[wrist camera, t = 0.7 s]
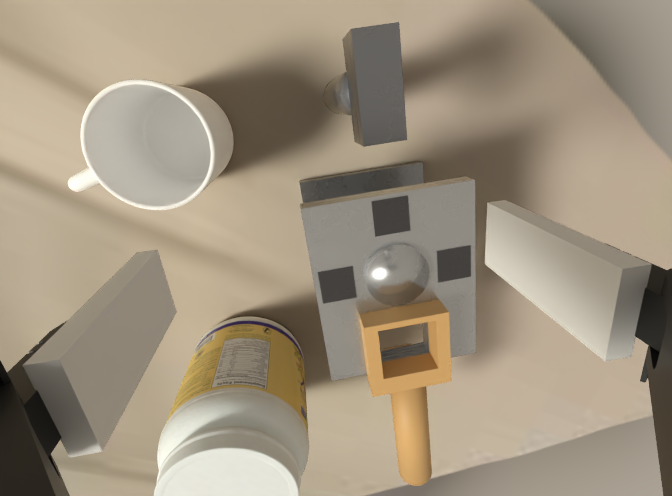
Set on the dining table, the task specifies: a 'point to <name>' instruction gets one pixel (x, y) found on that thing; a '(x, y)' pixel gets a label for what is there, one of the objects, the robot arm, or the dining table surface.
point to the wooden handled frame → (409, 379)
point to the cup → (153, 143)
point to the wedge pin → (371, 85)
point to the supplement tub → (238, 416)
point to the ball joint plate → (389, 255)
